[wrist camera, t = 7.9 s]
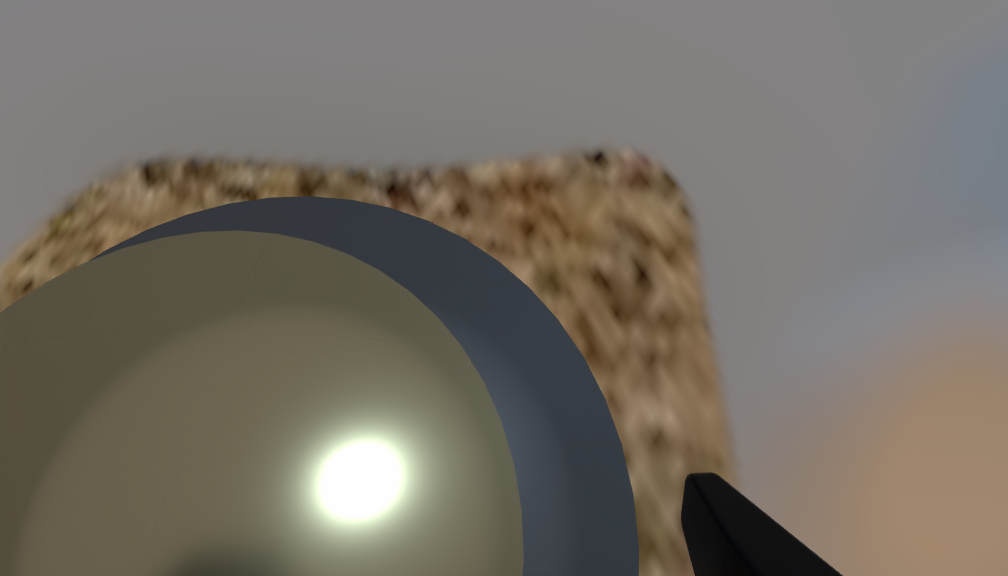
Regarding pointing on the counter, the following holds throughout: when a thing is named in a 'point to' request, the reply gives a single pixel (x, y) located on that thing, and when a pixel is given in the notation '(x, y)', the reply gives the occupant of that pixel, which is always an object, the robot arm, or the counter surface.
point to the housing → (303, 409)
